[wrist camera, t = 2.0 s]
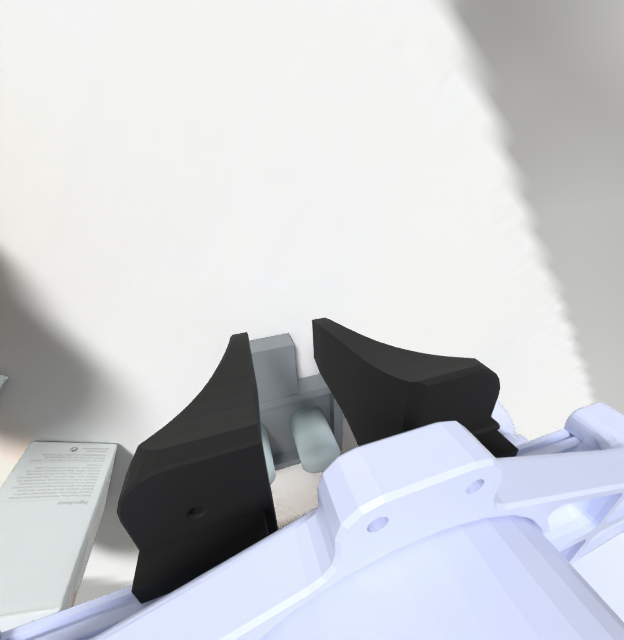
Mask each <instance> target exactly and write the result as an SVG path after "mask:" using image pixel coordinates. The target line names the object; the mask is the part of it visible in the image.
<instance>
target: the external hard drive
mask: <svg viewBox="0 0 624 640" xmlns="http://www.w3.org/2000/svg"><path fill="white" fill-rule="evenodd" d="M8 378H9V377H7V376H4V375H1V374H0V389H1V388H2V386H3V385H4V384H5V382H6V381H7V379H8Z"/></svg>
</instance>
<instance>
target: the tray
mask: <svg viewBox="0 0 624 640" xmlns="http://www.w3.org/2000/svg"><path fill="white" fill-rule="evenodd" d="M249 343H250V349H251V354H252V360H253V366H254V371H255V377H256V382H257V388H258V398H259V410H260V423H261V435H262V443H263V449H264V454H265V460H266V465H267V471H268V476H269V482H270V485H271V484H272V483H273V481H274V479H275V477H276V473H275V471H276V470H280V469H283V468H286V467H289V466H292V465H296V464H299V463H301V464H302V467H303V469H304V470H305V471H307V472H310V473H318V472H322V471H324V470H325V469H326V468H327V467H328V466H329V465H330V464H331V463H332V462H333V461H334V460H335V459H336V458H337V457H338V456H340V454H341V452H340V451H341V450H342V410H341V408H340V406H339V405H338V403H337V401H336V400H335V398H334V396H333V395H332V393H331V391H330V390H329V388H328V386H327V384H326V383H325V381H324V379H323V377H322V376H321V374H318V375H314V376H309V377H305V378H301V379H297V372H296V361H295V349H294V343H293V341H292V339H291V337H290V335H289V333H287V334H282V335H276V336H271V337H266V338H261V339H256V340H251V341H249Z"/></svg>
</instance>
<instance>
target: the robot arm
mask: <svg viewBox="0 0 624 640" xmlns="http://www.w3.org/2000/svg"><path fill="white" fill-rule="evenodd" d="M312 327H313V346H314V359H315V361H316V364H317V366H318V369H319V371H320V373H321V376H322V377H323V379H324V381H325V383H326V384H327V386H328V388H329V390H330V391H331V393H332V395H333V396H334V398H335V400H336V401H337V403H338V405H339V406H340V408H341V410H342V412H343V413H344V415H345V417H346V419H347V421H348V423H349V426H350V428H351V430H352V432H353V435H354V437H355V439H356V441H357V444H358V446H359V447H356V448H354V449H352V450H350V451H348V452H346V453H344V454H342V455H340V456H338V457H337V458H336V459H335V460H334V461H333V462H332V463H331V464H330V465H329V466H328V467H327V468H326V469H325V470H324V472H323V474H322V477H321V480H320V483H319V486H318V502H319V504H318V507H317V508H315V509H314V510H312V511H310V512H308V513H307V514H305V515H303V516H302V517H300V518H298V519H296V520H295V521H293V522H291V523H290V524H288V525H286V526H284V527H283V528H281V529H279V530H278V525H277V520H276V514H275V509H274V503H273V498H272V492H271V487H270V482H269V476H268V471H267V465H266V460H265V454H264V449H263V443H262V435H261V423H260V410H259V398H258V388H257V382H256V377H255V371H254V366H253V360H252V354H251V349H250V343H249V338H248V334H247V332H245V333H240V334H235V335H232V336H231V337H230V341H229V344H228V347H227V349H226V352H225V354H224V356H223V358H222V360H221V362H220V364H219V365H218V367H217V369H216V370H215V372H214V374H213V375H212V377H211V378H210V380H209V381H208V383H207V384H206V385H205V387H204V388H203V389H202V391H201V392H200V393H199V394H198V395H197V396H196V398H195V399H194V400H193V401H192V402H191V403H190V404H189V405H188V406H187V407H186V408H185V409H184V410H183V411H182V412H181V413H180V414H179V415H177V416H176V417H175V418H174V419H173V420H172V421H170V422H169V423H168V424H167V425H166V426H164V427H163V428H162V429H160V430H159V431H158V432H156V433H155V434H154V435H152V436H151V437H149V438H148V439H147V440H145V441H144V442H143V443H141V444H140V445H139V446H138V447H137V450H136V452H135V455H134V457H133V459H132V461H131V464H130V466H129V469H128V471H127V474H126V477H125V481H124V484H123V488H122V491H121V494H120V498H119V501H118V508H117V514H118V516H119V519H120V522H121V523H122V525H123V526H124V528H125V529H126V531H127V532H128V534H129V535H130V537H131V538H132V540H133V541H134V543H135V544H136V546H137V547H138V549H139V550H140V551H139V556H138V561H137V566H136V571H135V576H134V581H133V585H131V586H129V587H126V588H123V589H120V590H118V591H115V592H112V593H109V594H107V595H104V596H101V597H98V598H96V599H93V600H90V601H87V602H85V603H82V604H79V605H76V606H73V607H71V608H68V609H65V610H62V611H60V612H57V613H54V614H51V615H49V616H46V617H43V618H40V619H38V620H35V621H32V622H29V623H27V624H24V625H21V626H18V627H15V628H13V629H10V630H7V631H4V632H1V631H0V640H624V415H623V414H621V413H619V412H617V411H616V410H614V409H613V408H611V407H609V406H608V405H606V404H604V403H602V402H597V403H594V404H592V405H589V406H586V407H583V408H580V409H578V410H576V411H574V412H573V413H572V414H571V415H570V416H569V418H568V419H567V421H566V423H565V428H564V429H562V430H559V431H556V432H553V433H551V434H548V435H545V436H542V437H540V438H537V439H534V440H531V441H529V440H527V439H526V438H525V437H523V436H522V435H520V434H515V428H514V424H513V422H512V420H511V418H510V416H509V414H508V413H507V411H506V410H505V408H504V407H503V406H502V405H501V404H500V403H499V401H497V398H498V395H499V391H500V382H499V378H498V376H497V374H496V373H494V372H493V371H492V370H490V369H489V368H488V367H486V366H485V365H483V364H482V363H481V362H479V361H478V360H476V359H474V358H460V357H446V356H438V355H431V354H425V353H419V352H414V351H410V350H405V349H401V348H397V347H394V346H390V345H387V344H384V343H381V342H378V341H375V340H373V339H370V338H368V337H365V336H363V335H361V334H358V333H356V332H354V331H352V330H350V329H348V328H346V327H344V326H342V325H340V324H338V323H336V322H334V321H332V320H330V319H327V318H320V319H315V320H312Z"/></svg>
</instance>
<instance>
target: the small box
mask: <svg viewBox="0 0 624 640" xmlns="http://www.w3.org/2000/svg"><path fill="white" fill-rule="evenodd" d="M117 447H118V445H117V444H104V443H68V442H31V443H30V445H29V446H28V448H27V449H26V451H25V452H24V454H23V455H22V457H21V458H20V459H19V461H18V462H17V464H16V465H15V467H14V468H13V470H12V471H11V473H10V474H9V476H8V477H7V479H6V480H5V482H4V483H3V485H2V486H1V488H0V631H1V632H4V631H7V630H10V629H13V628H15V627H18V626H21V625H24V624H27V623H29V622H32V621H35V620H38V619H40V618H43V617H46V616H49V615H51V614H54V613H57V612H60V611H62V610H65V609H68V608H71V607H73V606H74V603H75V600H76V596H77V594H78V591H79V587H80V584H81V581H82V578H83V575H84V572H85V569H86V565H87V562H88V559H89V556H90V553H91V550H92V547H93V544H94V541H95V538H96V535H97V531H98V528H99V525H100V522H101V519H102V516H103V513H104V509H105V505H106V500H107V495H108V490H109V485H110V480H111V475H112V470H113V465H114V460H115V456H116V451H117Z"/></svg>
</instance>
